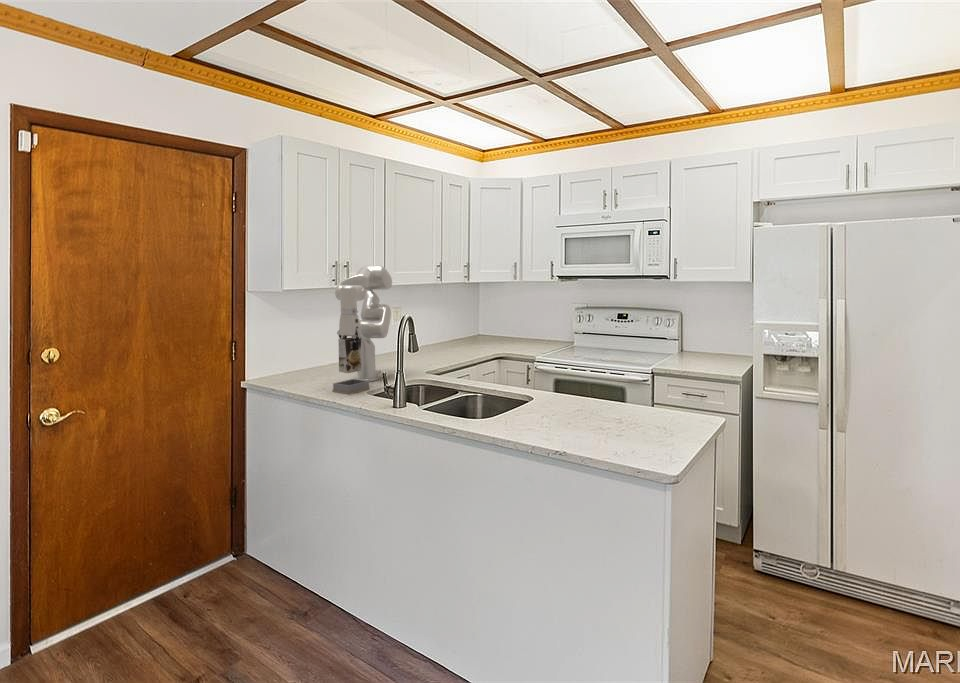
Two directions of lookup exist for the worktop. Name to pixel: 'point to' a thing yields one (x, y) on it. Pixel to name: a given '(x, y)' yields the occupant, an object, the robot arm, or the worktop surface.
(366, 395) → the worktop surface
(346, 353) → the coffee box
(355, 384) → the dock
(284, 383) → the worktop surface
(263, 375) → the worktop surface
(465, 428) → the worktop surface
